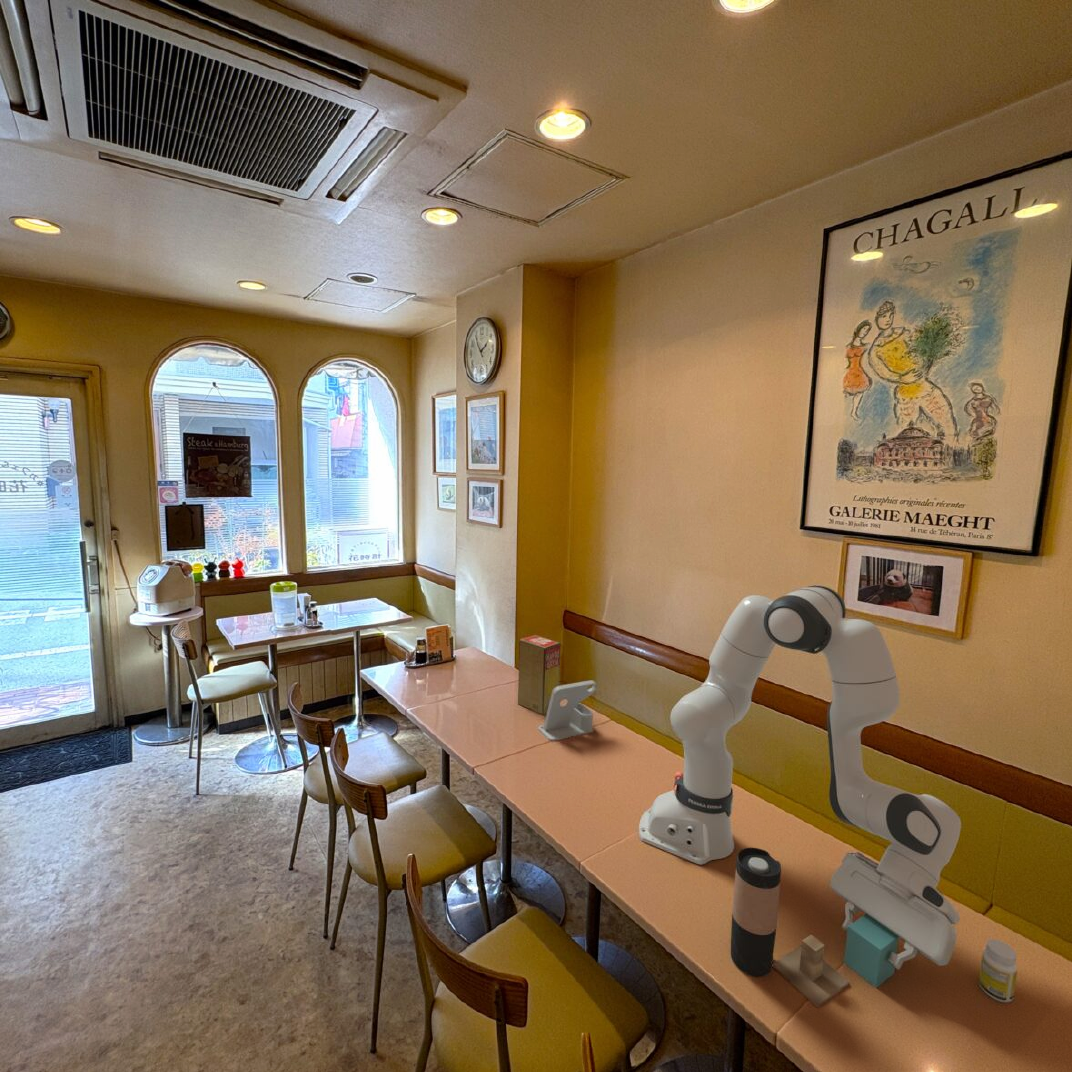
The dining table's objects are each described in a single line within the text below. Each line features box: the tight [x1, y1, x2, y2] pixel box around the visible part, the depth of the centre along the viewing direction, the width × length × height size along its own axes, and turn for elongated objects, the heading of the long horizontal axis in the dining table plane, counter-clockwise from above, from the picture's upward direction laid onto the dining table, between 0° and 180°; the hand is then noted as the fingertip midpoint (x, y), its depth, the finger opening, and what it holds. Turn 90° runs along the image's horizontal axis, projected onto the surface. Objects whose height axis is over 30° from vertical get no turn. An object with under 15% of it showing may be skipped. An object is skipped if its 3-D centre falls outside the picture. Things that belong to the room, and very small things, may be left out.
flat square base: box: [771, 934, 850, 1008], centre depth 101 cm, size 9×9×6 cm
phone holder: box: [537, 679, 598, 742], centre depth 191 cm, size 17×10×18 cm, turn 116°
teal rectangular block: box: [843, 914, 899, 989], centre depth 103 cm, size 6×6×8 cm
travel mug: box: [730, 847, 782, 978], centre depth 103 cm, size 8×8×20 cm
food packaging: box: [517, 634, 562, 716], centre depth 208 cm, size 13×9×25 cm
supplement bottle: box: [978, 938, 1018, 1003], centre depth 99 cm, size 5×5×8 cm
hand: (869, 947), depth 103 cm, fingers open, 7 cm apart
